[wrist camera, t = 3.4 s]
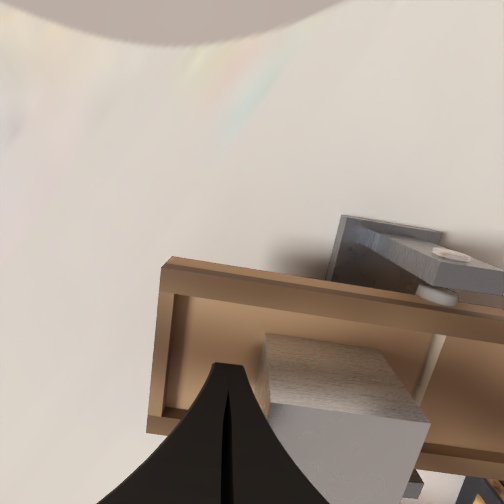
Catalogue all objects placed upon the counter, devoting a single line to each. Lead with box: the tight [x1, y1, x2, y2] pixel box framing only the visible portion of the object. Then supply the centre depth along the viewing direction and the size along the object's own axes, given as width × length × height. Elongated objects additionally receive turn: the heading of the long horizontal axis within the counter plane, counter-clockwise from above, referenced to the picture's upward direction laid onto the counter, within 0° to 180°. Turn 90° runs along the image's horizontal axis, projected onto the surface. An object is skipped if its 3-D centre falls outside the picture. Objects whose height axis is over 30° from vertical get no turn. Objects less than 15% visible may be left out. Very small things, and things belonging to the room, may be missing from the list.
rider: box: [254, 333, 431, 504], centre depth 11 cm, size 4×5×4 cm
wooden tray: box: [146, 256, 504, 481], centre depth 14 cm, size 9×24×2 cm, turn 81°
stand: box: [325, 215, 504, 499], centre depth 17 cm, size 13×6×8 cm, turn 171°
